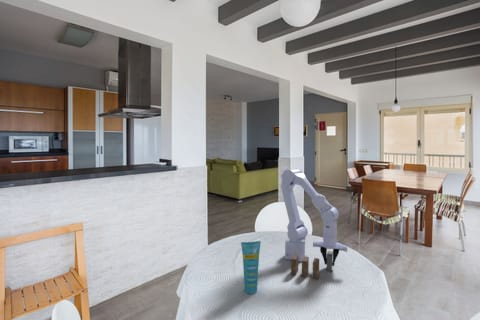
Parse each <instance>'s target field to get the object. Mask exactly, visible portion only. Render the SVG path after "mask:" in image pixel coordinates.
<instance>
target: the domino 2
mask: <svg viewBox="0 0 480 320" xmlns="http://www.w3.org/2000/svg"><path fill="white" fill-rule="evenodd" d="M309 259H310V257H309V256H308V255H307V256H304V257H303V259H302V262H301V278H306V279H307V278H308V275H309V266H310V265H309Z"/></svg>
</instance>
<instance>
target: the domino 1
mask: <svg viewBox="0 0 480 320" xmlns="http://www.w3.org/2000/svg"><path fill="white" fill-rule="evenodd" d="M298 272H299V261H298V255H295V254H294V255H293V256H292V258H291V260H290V275H292V276H297V274H298Z"/></svg>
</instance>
